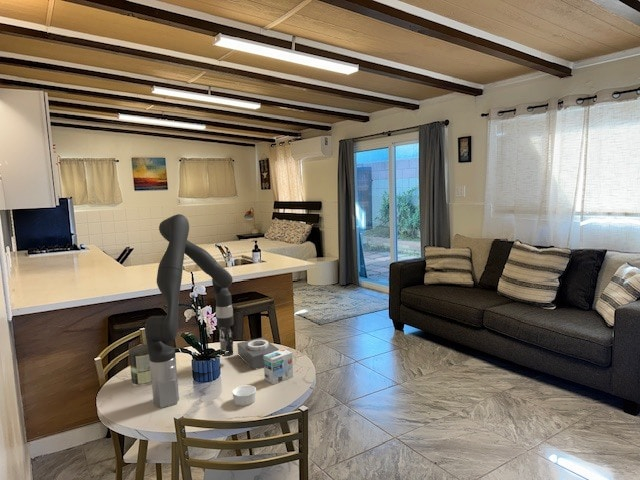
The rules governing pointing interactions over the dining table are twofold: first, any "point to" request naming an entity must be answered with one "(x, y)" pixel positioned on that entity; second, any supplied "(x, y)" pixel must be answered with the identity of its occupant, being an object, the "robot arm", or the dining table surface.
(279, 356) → the light bulb box
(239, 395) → the ramekin
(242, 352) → the camera body
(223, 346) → the lens
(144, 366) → the coffee can
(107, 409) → the dining table surface
